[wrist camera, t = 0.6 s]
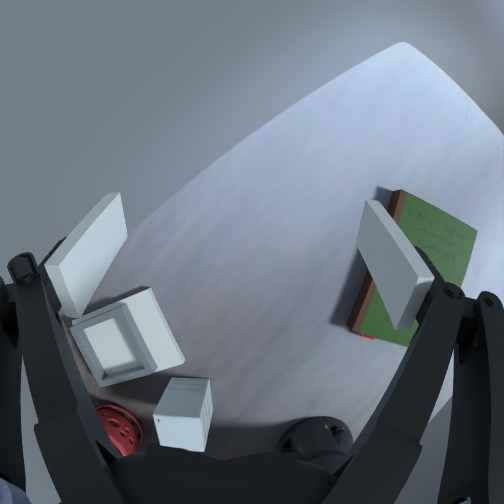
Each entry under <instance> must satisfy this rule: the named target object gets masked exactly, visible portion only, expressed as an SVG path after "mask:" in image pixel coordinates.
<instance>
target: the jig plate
mask: <svg viewBox="0 0 504 504" xmlns="http://www.w3.org/2000/svg"><path fill="white" fill-rule="evenodd" d="M71 322H72V324H73V326H71V327H70V328H69V329H70V331H71V333H72V335H73V337H74V339H75V341H76V343H77V345H78V347H79V349H80V351H81V353H82V355H83V357H84V359H85V361H86V363H87V365H88V366H89V368H90V370H91V372H92V374H93V375H94V377H95V379H96V381H97V382H98V384H99V386H100V388H101V387H105V386H109V385H112V384H116V383H120V382H124V381H128V380H131V379H135V378H138V377H142V376H146V375H149V374H152V373H154V372H157V371H161V370H164V369H167V368H170V367H174V366H177V365H180V364H183V363H184V361H185V358H184V357H183V355H182V353H181V351H180V349H179V347H178V345H177V343H176V341H175V339H174V337H173V335H172V333H171V331H170V329H169V326H168V324H167V322H166V320H165V318H164V316H163V314H162V312H161V309H160V307H159V305H158V303H157V301H156V299H155V296H154V294H153V292H152V290H151V288H148V289H146V290H143V291H141V292H139V293H136V294H134V295H131V296H129V297H127V298H124V299H122V300H119V301H117V302H115V303H112V304H110V305H107V306H105V307H103V308H100V309H98V310H95V311H93V312H91V313H88V314H86V315H84V316H81V318H76V319H74V320H73V321H71Z"/></svg>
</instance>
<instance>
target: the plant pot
mask: <svg viewBox="0 0 504 504" xmlns="http://www.w3.org/2000/svg"><path fill="white" fill-rule="evenodd" d="M96 412H97V414H98V416H99V418H100V420H101V422H102V424H103V426H104V428H105V430H106V432H107V434H108V436H109V437H110V439H111V441H112V443H113V444H114V446H115V447H116V449H117V450H118V451H119V453H120V454H121V455H122V457H124V456H126V455H129V454H132V453H137V451H138V445H139V444H140V443H141V441H142V438H143V431H142V428H141V425H140V424H139V422H138V420H137V419H136V418H135V417H134V416H133V415H132V414H131V413H130V412H128V411H127V410H125V409H124V408H122V407H119V406H116V405H112V404H103V405H100V406H98V407H97V408H96Z"/></svg>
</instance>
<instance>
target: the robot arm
mask: <svg viewBox="0 0 504 504" xmlns="http://www.w3.org/2000/svg"><path fill="white" fill-rule="evenodd" d="M127 237H128V236H127V230H126V225H125V220H124V214H123V209H122V203H121V197H120V193H108V194H107V195H106V196H105V197H104V198H103V199H102V200H101V201H100V202H99V203H98V204H97V205H96V206H95V207H94V208H93V209H92V210H91V211H90V212H89V213H88V214H87V216H86V217H85V218H84V219H83V220H82V221H81V222H80V223H79V224H78V225H77V226H76V228H75V229H74V230H73V231H72V232H71V233H70V235H69V236H67V237H65V238H63V239H62V240H60V241H59V242H58V243H57V244H56V245H55V246H54V248H53V250H51V251H50V252H49V255H47V256H46V257H45V258H44V260H43V261H42V262H41V263H40V264H39V266H37V263H36V261H35V258H34V256H33V254H32V253H30V252H26V253H22V254H19V255H17V256H15V257H14V258H13V259H11V260H10V262H9V263H8V266H7V268H8V271H9V273H10V275H11V277H12V280H13V282H14V283H12V284H6V285H5V283H4V281H3V279H2V278H1V277H0V504H32V503H31V502H30V501H29V498H28V497H27V495H26V483H25V482H26V480H25V479H26V478H25V466H24V457H23V447H22V434H21V406H20V392H21V364H22V354H23V360H24V365H25V370H26V374H27V379H28V383H29V388H30V392H31V396H32V399H33V403H34V407H35V410H36V414H37V417H38V421H39V422H38V424H35V425H34V431H35V435H36V438H37V442H38V445H39V448H40V451H41V453H42V456H43V459H44V461H45V464H46V467H47V469H48V472H49V474H50V477H51V479H52V481H53V484H54V486H55V488H56V490H57V493H58V495H59V497H60V499H61V501H62V502H60V503H59V504H394V502H395V500H396V499H397V497H398V495H399V494H400V492H401V490H402V488H403V487H404V485H405V483H406V481H407V479H408V477H409V476H410V473H411V472H412V470H413V468H414V466H415V464H416V462H417V460H418V458H419V455H420V453H421V450H422V446H421V445H420V444H419V442H420V439H421V437H422V435H423V432H424V430H425V428H426V426H427V423H428V421H429V419H430V416H431V414H432V411H433V409H434V406H435V403H436V401H437V398H438V395H439V393H440V390H441V387H442V384H443V381H444V378H445V375H446V372H447V369H448V366H449V363H450V359H451V356H452V352H453V349H454V377H453V399H452V411H451V422H450V431H449V439H448V447H447V453H446V459H445V464H444V470H443V475H442V480H441V485H440V490H439V495H438V503H437V504H504V308H503V305H502V303H501V301H500V299H499V298H498V297H497V296H496V295H495V294H493V293H490V292H487V291H483V292H481V293H480V294H479V296H478V298H477V300H476V299H472V298H467V297H465V294H464V292H463V290H462V289H461V288H460V287H458V286H457V285H455V284H453V283H450V282H445V280H444V279H443V277H442V276H441V274H440V273H439V272H438V270H437V269H436V267H435V266H434V264H433V263H432V262H431V261H430V259H429V257H428V256H427V255H426V253H425V252H424V251H422V250H421V249H420V248H419V247H417V246H413V245H412V244H411V243H410V241H409V240H408V238H407V237H406V236H405V234H404V233H403V232H402V230H401V229H400V228H399V226H398V225H397V224H396V223H395V221H394V220H393V219H392V217H391V216H390V215H389V213H388V212H387V211H386V210H385V208H384V207H383V206H382V205H381V203H380V202H379V201H375V200H365V205H364V210H363V214H362V219H361V224H360V228H359V232H358V237H357V241H356V245H357V247H358V249H359V251H360V253H361V255H362V257H363V259H364V261H365V263H366V265H367V267H368V270H369V272H370V274H371V276H372V278H373V280H374V282H375V285H376V287H377V289H378V291H379V294H380V296H381V298H382V300H383V303H384V305H385V307H386V309H387V312H388V314H389V317H390V319H391V321H392V324H393V326H394V329H395V330H400V329H410V328H411V326H412V324H413V322H414V320H415V318H416V320H417V322H418V324H419V326H418V328H417V330H416V331H415V333H414V335H413V337H412V339H411V340H410V342H409V343H410V345H409V347H408V349H407V351H406V353H405V355H404V357H403V359H402V361H401V363H400V365H399V367H398V369H397V371H396V373H395V375H394V377H393V379H392V381H391V383H390V384H389V386H388V388H387V390H386V392H385V393H384V395H383V397H382V399H381V400H380V402H379V404H378V406H377V407H376V409H375V411H374V412H373V414H372V416H371V417H370V419H369V421H368V422H367V424H366V425H365V427H364V428H363V430H362V432H361V433H360V435H359V436H358V438H357V439H356V441H355V442H354V444H353V437H352V434H351V432H350V430H349V428H348V426H347V425H346V424H345V423H344V422H342V421H340V420H338V419H335V418H331V417H315V418H310V419H307V420H304V421H301V422H299V423H297V424H295V425H294V426H292V427H291V428H289V429H288V430H287V431H286V432H285V433H284V434H283V436H282V437H281V439H280V441H279V445H278V450H279V453H258V454H254V455H249V456H244V457H239V458H234V459H228V460H217V459H213V458H210V457H207V456H204V455H201V454H198V453H195V452H192V451H189V450H186V449H183V448H176V447H169V446H162V445H155V444H149V443H148V445H147V451H142V452H137V453H132V454H129V455H126V456H124V457H122V455H121V454H120V453H119V451H118V450H117V449H116V447H115V446H114V444H113V443H112V441H111V439H110V437H109V436H108V434H107V432H106V430H105V428H104V426H103V424H102V422H101V420H100V418H99V416H98V414H97V412H96V409H95V407H94V405H93V403H92V401H91V399H90V396H89V394H88V392H87V389H86V387H85V385H84V382H83V380H82V377H81V375H80V372H79V370H78V367H77V365H76V362H75V360H74V357H73V354H72V351H71V348H70V346H69V343H68V340H67V337H66V334H65V331H64V328H63V324H62V321H61V318H60V316H59V314H58V312H59V310H60V308H61V307H62V308H63V311H64V313H65V315H66V317H73V318H81V316H82V314H83V312H84V310H85V308H86V307H87V305H88V303H89V301H90V299H91V297H92V296H93V294H94V292H95V290H96V288H97V287H98V285H99V283H100V281H101V280H102V278H103V276H104V275H105V273H106V271H107V269H108V268H109V266H110V264H111V263H112V261H113V259H114V258H115V256H116V254H117V253H118V251H119V250H120V248H121V246H122V245H123V243H124V242H125V240H126V238H127Z"/></svg>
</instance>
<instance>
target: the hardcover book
mask: <svg viewBox="0 0 504 504" xmlns="http://www.w3.org/2000/svg"><path fill="white" fill-rule="evenodd" d="M387 212H388V213H389V215H390V216H391V217H392V219H393V220H394V221H395V223H396V224H397V225H398V226H399V228H400V229H401V230H402V232H403V233H404V234H405V236H406V237H407V238H408V240H409V241H410V243H411V244H412V245H413V246H417V247H419V248H420V249H421V250H422V251H424V252H425V253H426V255H427V256H428V257H429V259H430V261H431V262H432V263H433V264H434V266H435V267H436V269H437V270H438V272H439V273H440V274H441V276H442V277H443V279H444V280H445V282H450V283H453V284H455V285H457V286H458V287H460V288H461V285H462V282H463V279H464V276H465V273H466V270H467V267H468V264H469V260H470V257H471V253H472V250H473V246H474V242H475V238H476V234H477V230H475V229H474V228H472V227H470V226H469V225H467V224H465V223H464V222H462V221H460V220H458V219H457V218H455V217H453V216H451V215H450V214H448V213H446V212H444V211H442V210H441V209H439V208H437V207H435V206H433V205H431V204H429V203H427V202H426V201H424V200H422V199H420V198H418V197H416V196H414V195H412V194H410V193H408V192H406V191H404V190H402V189H400V190H396V191H393V193H392V197H391V200H390V204H389V207H388V211H387ZM346 325H347V326H348V327H349V328H350V329H351V330H352V331H355V332H358V333H361V335H360V336H362V337H366V338H369V339H373V340H374V338H379V339H382V340H386V341H389V342H393V343H397V344H400V345H404V346H408V347H409V345H410V343H409V342H410V340H411V339H412V337H413V335H414V333H415V331H416V330H417V328H418V326H419V324H418V322H417V320H416V318H415V320H414V322H413V324H412V326H411V328H410V329H400V330H395V329H394V326H393V324H392V321H391V319H390V317H389V314H388V312H387V309H386V307H385V305H384V303H383V300H382V298H381V296H380V294H379V291H378V289H377V287H376V285H375V282H374V280H373V278H372V276H371V274H370V272H369V270H368V271H367V274H366V276H365V279H364V282H363V284H362V287H361V290H360V292H359V295H358V297H357V300H356V302H355V305H354V307H353V310H352V312H351V315H350V317H349V320H348V322H347V324H346Z"/></svg>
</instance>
